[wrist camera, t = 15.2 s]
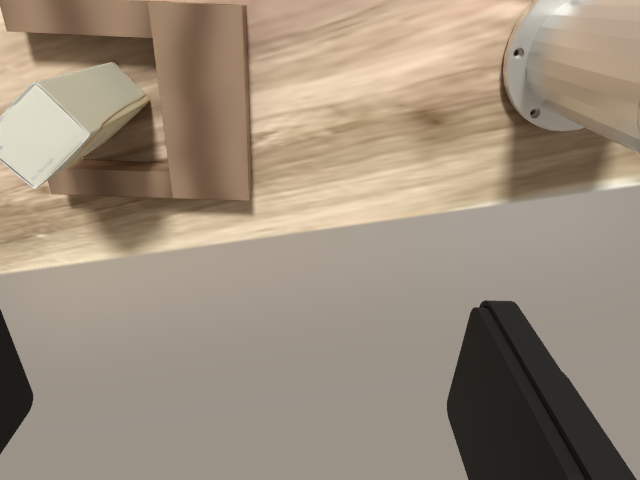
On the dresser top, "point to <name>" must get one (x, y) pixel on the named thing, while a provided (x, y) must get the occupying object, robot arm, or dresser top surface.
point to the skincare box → (66, 120)
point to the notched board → (166, 94)
